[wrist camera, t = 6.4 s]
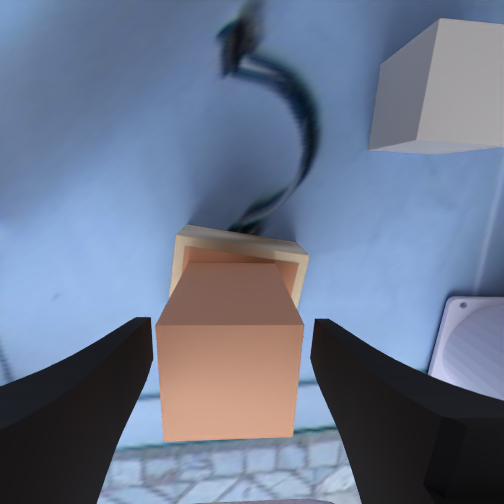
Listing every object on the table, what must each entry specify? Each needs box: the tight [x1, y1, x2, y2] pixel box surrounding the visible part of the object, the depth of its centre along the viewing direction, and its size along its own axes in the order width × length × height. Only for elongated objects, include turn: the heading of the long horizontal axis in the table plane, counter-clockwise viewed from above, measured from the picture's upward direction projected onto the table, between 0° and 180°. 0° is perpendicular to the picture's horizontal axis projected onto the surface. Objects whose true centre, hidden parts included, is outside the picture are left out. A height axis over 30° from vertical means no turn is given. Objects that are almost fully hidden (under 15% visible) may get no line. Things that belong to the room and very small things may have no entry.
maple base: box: [169, 224, 310, 309], centre depth 16 cm, size 7×7×4 cm
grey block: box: [368, 18, 504, 155], centre depth 13 cm, size 4×4×4 cm
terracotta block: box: [155, 262, 304, 441], centre depth 12 cm, size 4×4×6 cm
